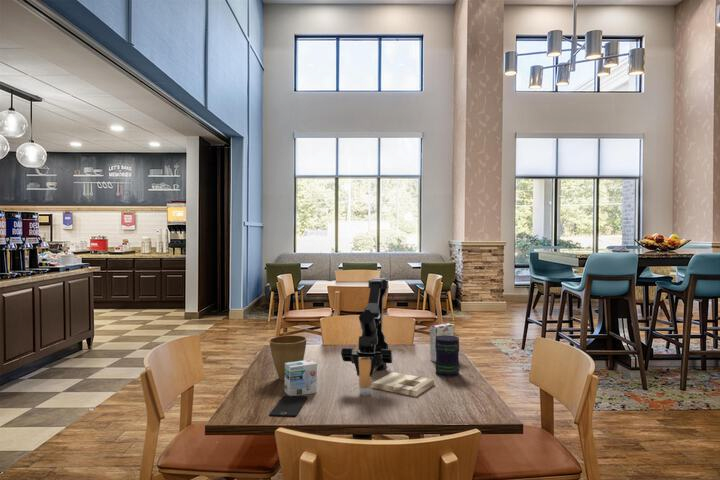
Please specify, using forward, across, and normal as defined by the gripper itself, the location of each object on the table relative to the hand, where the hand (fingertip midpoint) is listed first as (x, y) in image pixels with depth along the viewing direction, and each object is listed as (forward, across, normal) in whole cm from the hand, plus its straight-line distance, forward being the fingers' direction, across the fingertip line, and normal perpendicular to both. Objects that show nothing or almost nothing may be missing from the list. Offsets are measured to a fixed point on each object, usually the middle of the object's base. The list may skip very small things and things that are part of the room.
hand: (364, 376), depth 164 cm
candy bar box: (-32, +28, +42) cm, 60 cm away
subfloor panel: (-4, +13, +13) cm, 19 cm away
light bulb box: (+5, -24, +5) cm, 25 cm away
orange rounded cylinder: (+4, 0, +6) cm, 7 cm away
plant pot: (-5, -34, +15) cm, 37 cm away
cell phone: (+16, -23, -5) cm, 28 cm away
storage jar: (-17, +30, +27) cm, 44 cm away
